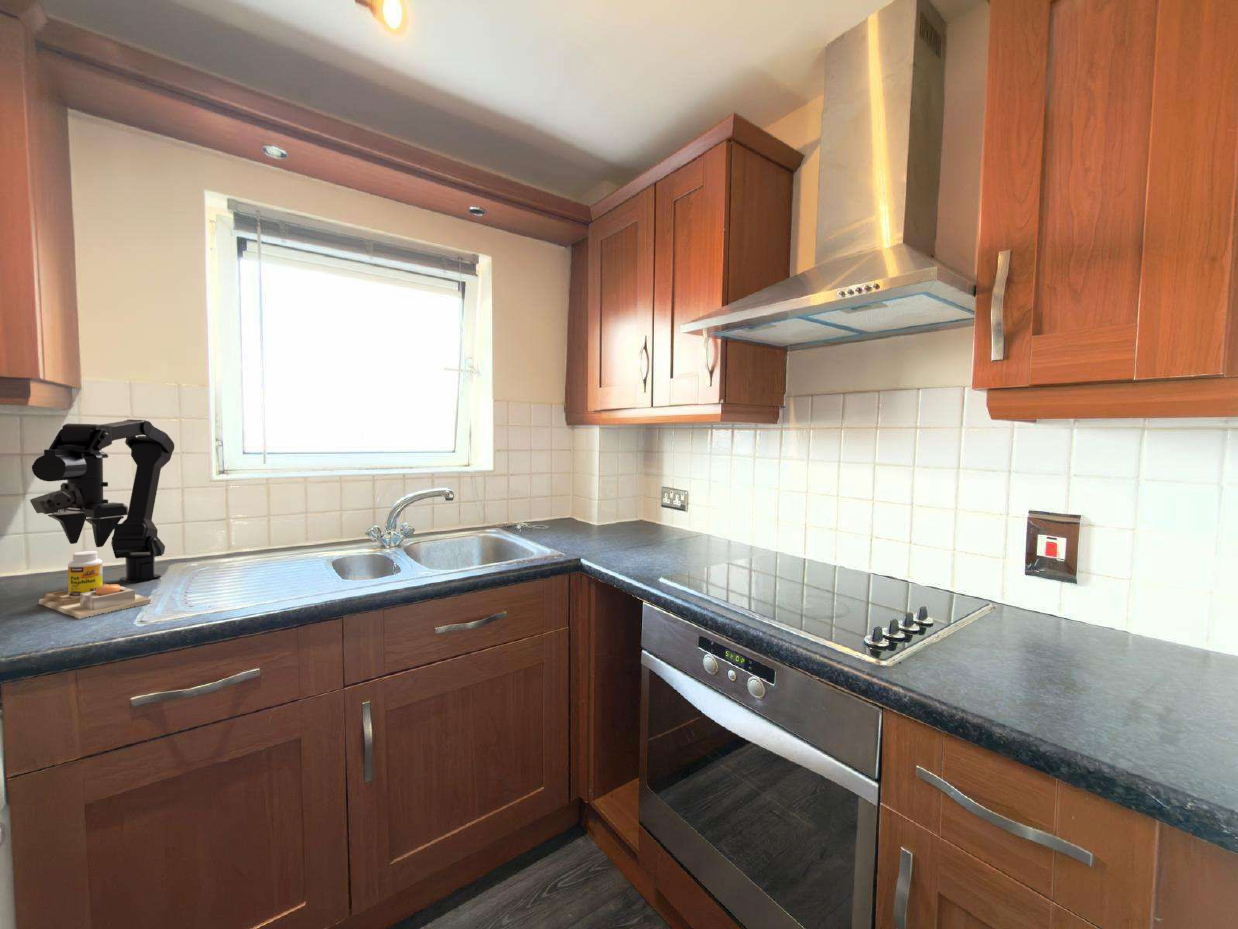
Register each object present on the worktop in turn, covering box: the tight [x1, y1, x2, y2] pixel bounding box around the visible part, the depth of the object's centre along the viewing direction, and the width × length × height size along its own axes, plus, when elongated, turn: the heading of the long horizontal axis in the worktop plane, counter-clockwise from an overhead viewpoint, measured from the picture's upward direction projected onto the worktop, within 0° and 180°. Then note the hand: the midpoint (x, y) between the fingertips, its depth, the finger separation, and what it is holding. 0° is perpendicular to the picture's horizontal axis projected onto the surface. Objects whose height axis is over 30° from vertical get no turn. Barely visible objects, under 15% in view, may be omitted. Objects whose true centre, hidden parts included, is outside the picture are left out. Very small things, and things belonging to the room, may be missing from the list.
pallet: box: [38, 582, 152, 620], centre depth 117 cm, size 20×12×4 cm, turn 65°
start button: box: [96, 583, 121, 596], centre depth 114 cm, size 4×4×2 cm
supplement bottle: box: [67, 550, 104, 598], centre depth 119 cm, size 6×6×10 cm
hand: (86, 545), depth 118 cm, fingers open, 9 cm apart
